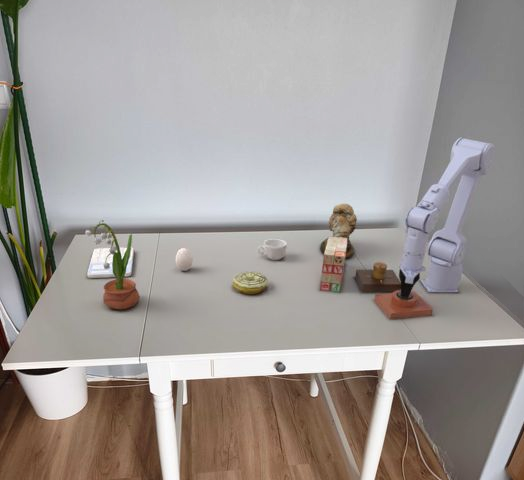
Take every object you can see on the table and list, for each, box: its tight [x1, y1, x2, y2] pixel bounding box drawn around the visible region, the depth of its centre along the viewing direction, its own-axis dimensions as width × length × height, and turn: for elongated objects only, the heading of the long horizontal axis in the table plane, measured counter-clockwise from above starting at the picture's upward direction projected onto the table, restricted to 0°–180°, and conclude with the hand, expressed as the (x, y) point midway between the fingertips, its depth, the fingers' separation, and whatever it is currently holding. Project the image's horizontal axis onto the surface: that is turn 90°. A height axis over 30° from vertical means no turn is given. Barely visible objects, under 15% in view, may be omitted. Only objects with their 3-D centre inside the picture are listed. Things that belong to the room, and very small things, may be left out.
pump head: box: [397, 292, 412, 300], centre depth 144 cm, size 4×4×2 cm
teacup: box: [257, 238, 288, 261], centre depth 170 cm, size 10×8×5 cm
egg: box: [175, 247, 193, 272], centre depth 160 cm, size 5×5×8 cm
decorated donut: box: [232, 271, 270, 295], centre depth 152 cm, size 10×11×4 cm
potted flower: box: [84, 220, 140, 310], centre depth 135 cm, size 12×10×25 cm
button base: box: [373, 290, 434, 320], centre depth 145 cm, size 13×11×4 cm
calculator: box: [86, 246, 135, 279], centre depth 163 cm, size 13×20×2 cm, turn 10°
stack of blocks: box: [319, 236, 347, 293], centre depth 158 cm, size 21×6×12 cm, turn 168°
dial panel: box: [354, 269, 401, 294], centre depth 156 cm, size 12×10×3 cm
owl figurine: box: [320, 203, 358, 261], centre depth 175 cm, size 18×12×17 cm, turn 1°
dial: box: [372, 261, 388, 279], centre depth 154 cm, size 4×4×4 cm
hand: (404, 294), depth 144 cm, fingers closed, pressing on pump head
